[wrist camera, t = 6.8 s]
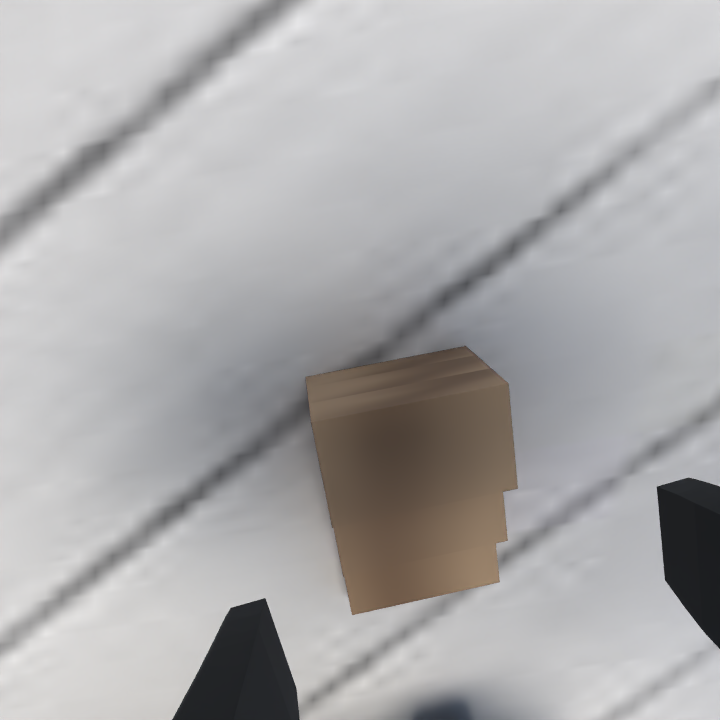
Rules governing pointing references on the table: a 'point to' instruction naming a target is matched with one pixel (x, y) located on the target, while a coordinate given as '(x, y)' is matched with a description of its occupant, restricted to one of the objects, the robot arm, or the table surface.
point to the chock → (414, 473)
